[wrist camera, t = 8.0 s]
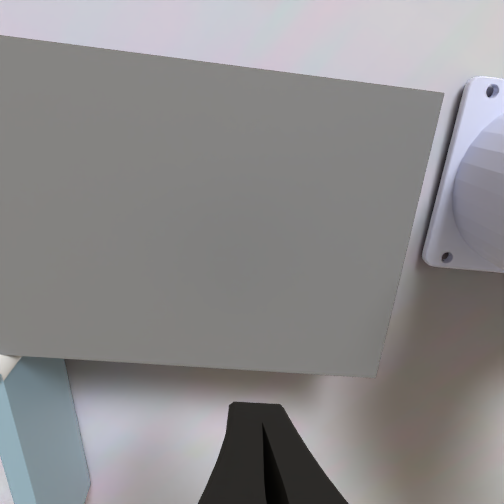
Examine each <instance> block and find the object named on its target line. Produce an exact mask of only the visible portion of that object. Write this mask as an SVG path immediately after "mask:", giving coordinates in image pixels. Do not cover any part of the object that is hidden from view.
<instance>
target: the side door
mask: <svg viewBox="0 0 504 504" xmlns="http://www.w3.org/2000/svg"><path fill="white" fill-rule="evenodd" d="M0 457H1V460H2V464H3V467H4V470H5V474H6V477H7V481H8V484H9V488H10V491H11V494H12V498H13V501H14V504H84V503H85V500H86V497H87V494H88V490H89V487H90V484H91V482H90V478H89V473H88V468H87V464H86V459H85V454H84V450H83V445H82V440H81V436H80V431H79V426H78V422H77V417H76V412H75V408H74V403H73V398H72V394H71V389H70V384H69V380H68V375H67V370H66V366H65V361H64V359H62V358H46V357H30V356H14V355H0Z"/></svg>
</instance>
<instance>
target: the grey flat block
mask: <svg viewBox="0 0 504 504" xmlns="http://www.w3.org/2000/svg"><path fill="white" fill-rule="evenodd" d="M443 97H444V93H441V92H433V91H426V90H418V89H410V88H403V87H395V86H387V85H380V84H372V83H364V82H357V81H349V80H341V79H333V78H326V77H318V76H310V75H303V74H295V73H287V72H280V71H272V70H264V69H257V68H249V67H241V66H233V65H226V64H218V63H210V62H203V61H195V60H187V59H180V58H172V57H164V56H157V55H149V54H141V53H133V52H126V51H118V50H110V49H103V48H95V47H87V46H80V45H72V44H64V43H57V42H49V41H41V40H33V39H26V38H18V37H10V36H3V35H0V355H14V356H30V357H46V358H62V359H78V360H94V361H110V362H125V363H141V364H157V365H173V366H189V367H205V368H221V369H237V370H253V371H269V372H285V373H301V374H317V375H333V376H349V377H365V378H376V375H377V371H378V367H379V363H380V359H381V354H382V350H383V346H384V342H385V338H386V334H387V330H388V325H389V321H390V317H391V313H392V309H393V305H394V301H395V296H396V292H397V288H398V284H399V280H400V276H401V271H402V267H403V263H404V259H405V255H406V251H407V247H408V242H409V238H410V234H411V230H412V226H413V222H414V218H415V213H416V209H417V205H418V201H419V197H420V193H421V188H422V184H423V180H424V176H425V172H426V168H427V164H428V159H429V155H430V151H431V147H432V143H433V139H434V135H435V130H436V126H437V122H438V118H439V114H440V110H441V106H442V101H443Z"/></svg>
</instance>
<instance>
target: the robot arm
mask: <svg viewBox="0 0 504 504" xmlns="http://www.w3.org/2000/svg"><path fill="white" fill-rule="evenodd" d="M490 85H492V87H493V94H492V95H491V96H490V97H487V95H486V90H487V88H488V87H489V86H490ZM445 252H449V255H448V257H447V258H446V259H445V260H441V257H442V255H443V254H444V253H445ZM422 258H423V260H424V261H425V262H426V263H427V264H428V265H429V266H432V267H442V268H453V269H464V270H475V271H487V272H498V273H504V79H501V78H493V77H486V76H478V77H473V78H471V79H470V80H469V81H468V82H467V83H466V85H465V87H464V91H463V95H462V99H461V102H460V106H459V110H458V114H457V118H456V122H455V126H454V130H453V134H452V138H451V142H450V146H449V150H448V154H447V158H446V162H445V166H444V170H443V173H442V177H441V181H440V185H439V189H438V193H437V197H436V201H435V205H434V209H433V213H432V217H431V221H430V225H429V229H428V233H427V237H426V241H425V245H424V248H423V252H422ZM198 504H348V502H347V501H346V500H345V499H344V497H343V496H342V495H341V494H340V492H339V491H338V490H337V489H336V487H335V486H334V485H333V483H332V482H331V481H330V479H329V478H328V477H327V475H326V474H325V473H324V471H323V470H322V468H321V467H320V466H319V464H318V463H317V461H316V460H315V458H314V457H313V455H312V454H311V452H310V451H309V449H308V448H307V446H306V445H305V443H304V442H303V440H302V438H301V437H300V435H299V434H298V432H297V430H296V429H295V427H294V425H293V424H292V422H291V420H290V418H289V417H288V415H287V413H286V411H285V409H284V408H283V407H282V406H281V404H266V403H248V402H233V403H232V404H230V405H229V411H228V420H227V428H226V434H225V438H224V441H223V444H222V447H221V450H220V453H219V456H218V459H217V462H216V464H215V467H214V469H213V471H212V474H211V476H210V478H209V481H208V483H207V485H206V488H205V490H204V492H203V494H202V496H201V498H200V500H199V502H198Z"/></svg>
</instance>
